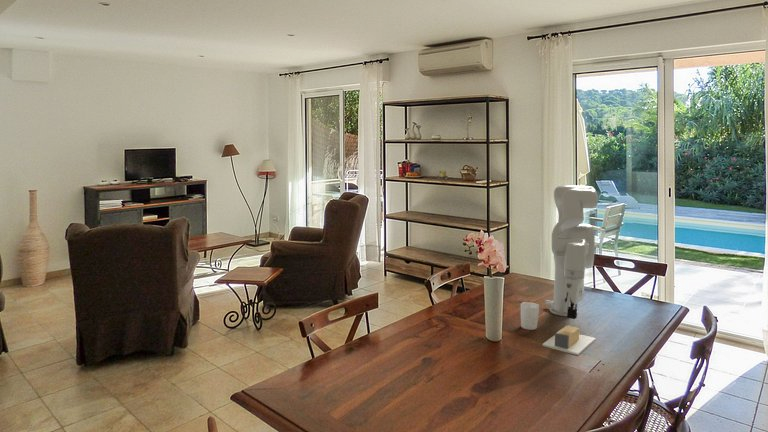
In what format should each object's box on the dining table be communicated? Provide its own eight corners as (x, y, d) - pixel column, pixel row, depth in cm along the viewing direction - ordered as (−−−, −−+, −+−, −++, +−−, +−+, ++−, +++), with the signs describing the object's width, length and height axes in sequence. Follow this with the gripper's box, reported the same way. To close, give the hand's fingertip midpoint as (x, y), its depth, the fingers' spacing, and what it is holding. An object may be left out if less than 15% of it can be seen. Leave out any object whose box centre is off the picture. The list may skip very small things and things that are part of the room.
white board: (542, 345, 203) (542, 343, 203) (561, 331, 218) (562, 329, 218) (577, 355, 194) (578, 353, 194) (595, 339, 209) (595, 338, 209)
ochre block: (566, 336, 210) (554, 345, 201) (567, 325, 209) (555, 333, 200) (578, 339, 207) (567, 348, 198) (579, 328, 206) (567, 336, 197)
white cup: (536, 324, 227) (537, 302, 225) (540, 330, 219) (541, 308, 217) (518, 323, 227) (519, 301, 226) (521, 330, 220) (522, 307, 218)
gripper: (577, 278, 194) (574, 325, 197) (590, 271, 206) (587, 315, 208) (557, 275, 199) (555, 320, 202) (571, 268, 210) (569, 311, 213)
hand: (571, 317), depth 205 cm, fingers closed
